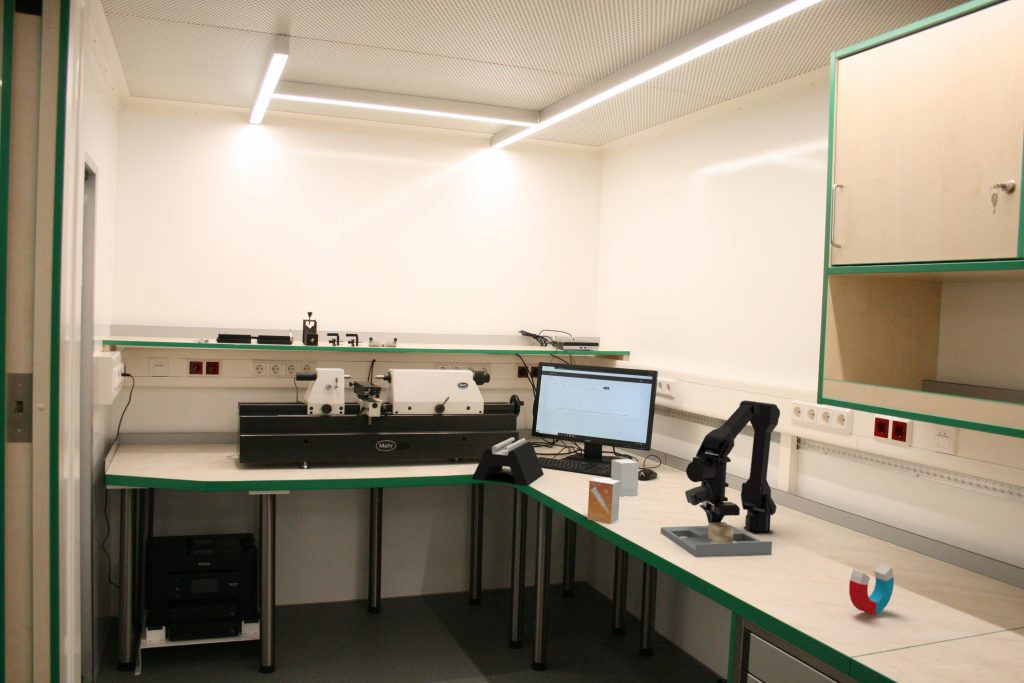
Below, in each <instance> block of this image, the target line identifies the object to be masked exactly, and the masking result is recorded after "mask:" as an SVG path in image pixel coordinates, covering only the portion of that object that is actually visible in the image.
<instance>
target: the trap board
mask: <svg viewBox="0 0 1024 683" xmlns="http://www.w3.org/2000/svg"><path fill="white" fill-rule="evenodd" d="M730 525H731V524H730ZM708 526H709V525H693V526H692V525H691V526H689V525H688V526H687V525H686V526H664V527H663V526H661V527H660V534H662V535H663V536H665V537H666V538H667V539H668V540H670V541H671V542H673V543H675V544H676V545H678V546H679V547H681V548H682V549H684V550H685V551H686V552H688V553H689V554H690V555H692V556H694V558H695V557H696V558H702V557H703V558H704V557H705V558H708V557H709V558H711V557H712V558H713V557H737V556H738V557H739V556H740V557H741V556H762V555H772V551H773V550H772V549H773V548H772V547H773V541H771V540H767V541H765V540H764V541H763V540H759V538H758V539H757V538H756V537H754V536H752V535H750V534H748V533H747V532H745V531H743V530H741V529H739V528H737V527H735V526H733V525H731V526H733V527H734V529H733V543H715V542H713V541H712V540H710V539H708Z"/></svg>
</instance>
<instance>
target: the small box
mask: <svg viewBox="0 0 1024 683" xmlns="http://www.w3.org/2000/svg"><path fill="white" fill-rule="evenodd" d="M588 483H589V484H588V501H587V505H588V506H587V520H588V521H595V522H599V523H605V524H610V525H611V524H613V523H615V522H617V521H618V520H619V516H620V514H619V512H620V481H619V480H612V479H611V478H604V477H594V478H591V479H590V480H589V482H588Z"/></svg>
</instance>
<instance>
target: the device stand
mask: <svg viewBox="0 0 1024 683" xmlns="http://www.w3.org/2000/svg"><path fill="white" fill-rule="evenodd" d="M536 452H537V451H536V450H535V447H534V444H533V443H532V441H526V438H524V437H523V438H521V439H519V440H517V441H515V437H510V438H507V439H504V440H503V441H500V442H499V443H496V444H494V445H492V446H490V447H487V448H486V449H484V451H483V454H482V456H481V458H480V460H479V462H478V464H477V466H476V468H475V471H474V473H473V475H472V476H471V480H474V481H475V480H476V481H481V482H482V481H486V480H487V479H490V478H491V477H493V476H494V475H496V474H498V473H499V472H502V471H503V467H505V468H510V472H511V474H512V477H513V479H514V482H515V483H513V485H515V486H523V487H529V486H531V484H533V483H534V482H536V481H537V480H539V479H540V478H541V477H543V476H544V475H545V474H544V470H543V469H542V466H541V462H540V460H539V458H538V455H537V453H536Z"/></svg>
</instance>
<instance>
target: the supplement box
mask: <svg viewBox="0 0 1024 683" xmlns="http://www.w3.org/2000/svg"><path fill="white" fill-rule="evenodd" d="M639 463H640V462H639V461H636V460H632V459H630V458H623V459H622V458H621V459H620V458H619V459H618V458H617V459H611V472H610V473H611V474H610V479H612V480H619V481H620V496H619V498H620V497H621V498H622V497H623V498H624V496H628V497H638V494H639V493H638V492H639V465H640V464H639Z"/></svg>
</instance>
